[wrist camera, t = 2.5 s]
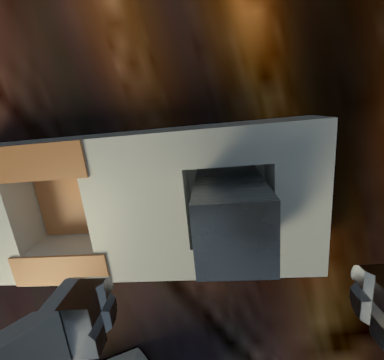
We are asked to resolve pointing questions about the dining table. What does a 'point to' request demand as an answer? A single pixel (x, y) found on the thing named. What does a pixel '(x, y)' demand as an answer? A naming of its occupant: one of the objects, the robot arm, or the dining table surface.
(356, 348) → the dining table surface
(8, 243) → the socket rail
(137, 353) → the milk carton
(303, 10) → the dining table surface
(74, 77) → the dining table surface
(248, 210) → the dark gray block
